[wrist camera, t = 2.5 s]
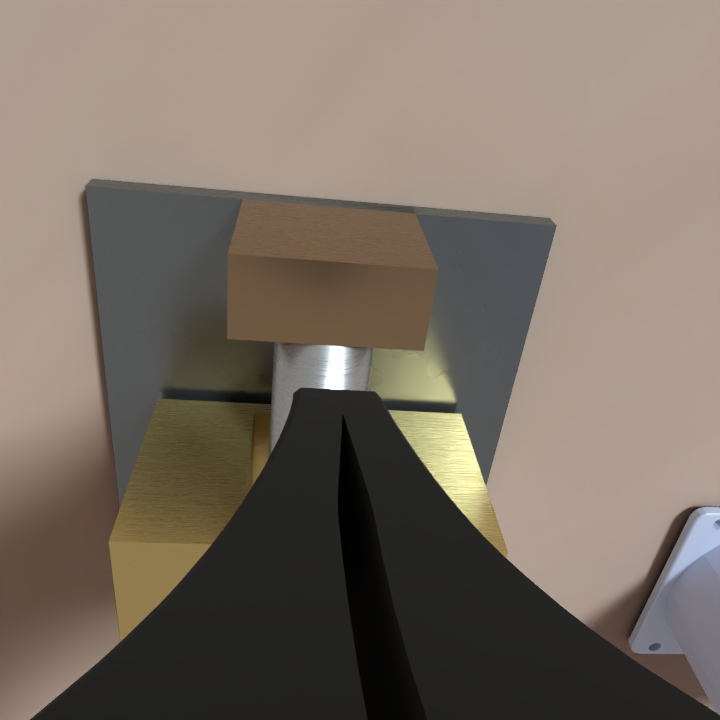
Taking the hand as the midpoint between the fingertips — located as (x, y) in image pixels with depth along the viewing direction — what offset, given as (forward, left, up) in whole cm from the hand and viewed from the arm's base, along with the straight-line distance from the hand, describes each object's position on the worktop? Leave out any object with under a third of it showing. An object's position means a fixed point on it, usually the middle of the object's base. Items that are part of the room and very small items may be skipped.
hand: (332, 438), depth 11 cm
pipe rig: (0, +10, -8) cm, 13 cm away
